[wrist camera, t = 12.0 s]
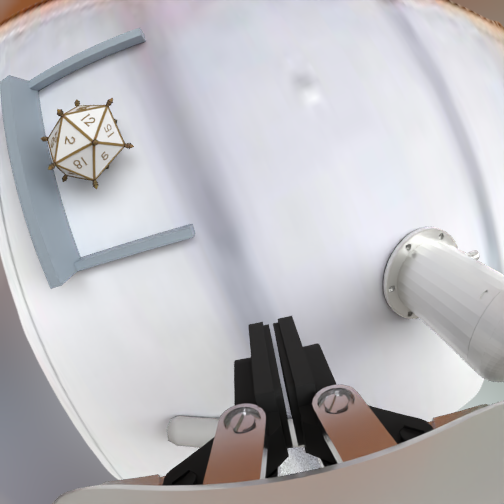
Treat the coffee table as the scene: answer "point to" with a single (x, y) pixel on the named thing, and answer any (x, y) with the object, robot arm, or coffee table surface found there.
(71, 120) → the game die
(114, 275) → the coffee table surface
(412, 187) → the coffee table surface
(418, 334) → the coffee table surface
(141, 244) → the tray
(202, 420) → the tube
